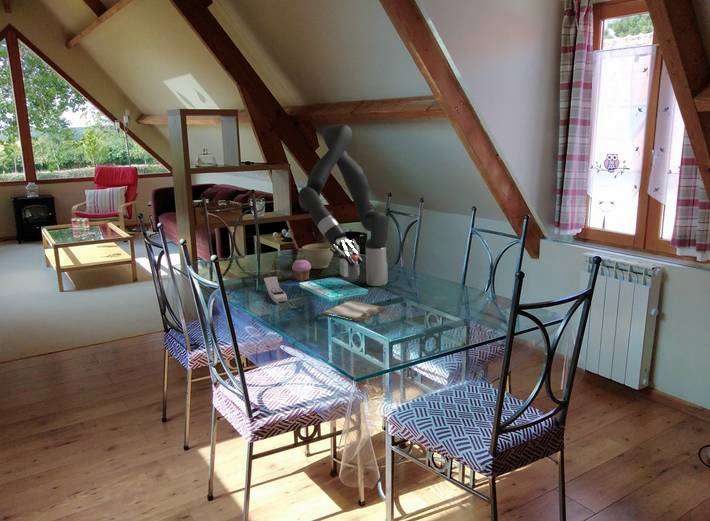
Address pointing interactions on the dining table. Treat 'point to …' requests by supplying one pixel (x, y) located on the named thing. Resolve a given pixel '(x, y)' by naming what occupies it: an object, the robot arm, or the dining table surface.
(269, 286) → the mobile phone
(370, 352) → the dining table surface
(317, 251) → the planter bowl
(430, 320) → the dining table surface
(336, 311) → the clipboard
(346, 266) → the skincare box
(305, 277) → the cupcake
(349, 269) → the grey and red cylinder
